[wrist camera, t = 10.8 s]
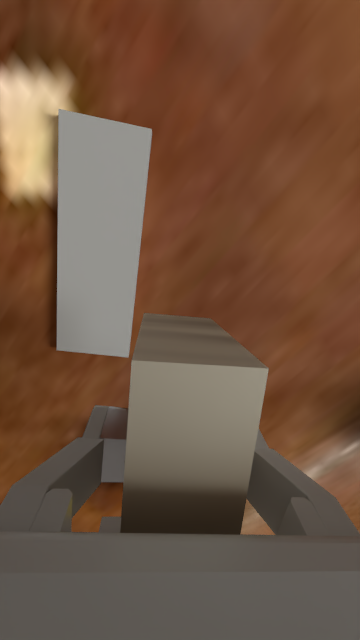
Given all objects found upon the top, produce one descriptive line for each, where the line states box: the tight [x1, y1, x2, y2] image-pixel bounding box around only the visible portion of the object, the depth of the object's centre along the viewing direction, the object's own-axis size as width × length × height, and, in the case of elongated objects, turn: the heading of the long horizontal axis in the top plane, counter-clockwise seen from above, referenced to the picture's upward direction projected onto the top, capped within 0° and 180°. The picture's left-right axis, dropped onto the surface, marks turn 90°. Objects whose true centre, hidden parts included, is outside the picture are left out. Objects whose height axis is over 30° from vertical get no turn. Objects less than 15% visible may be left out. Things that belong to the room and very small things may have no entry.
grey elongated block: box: [99, 313, 269, 535], centre depth 10 cm, size 17×5×6 cm, turn 174°
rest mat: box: [57, 109, 152, 357], centre depth 23 cm, size 20×7×1 cm, turn 171°
